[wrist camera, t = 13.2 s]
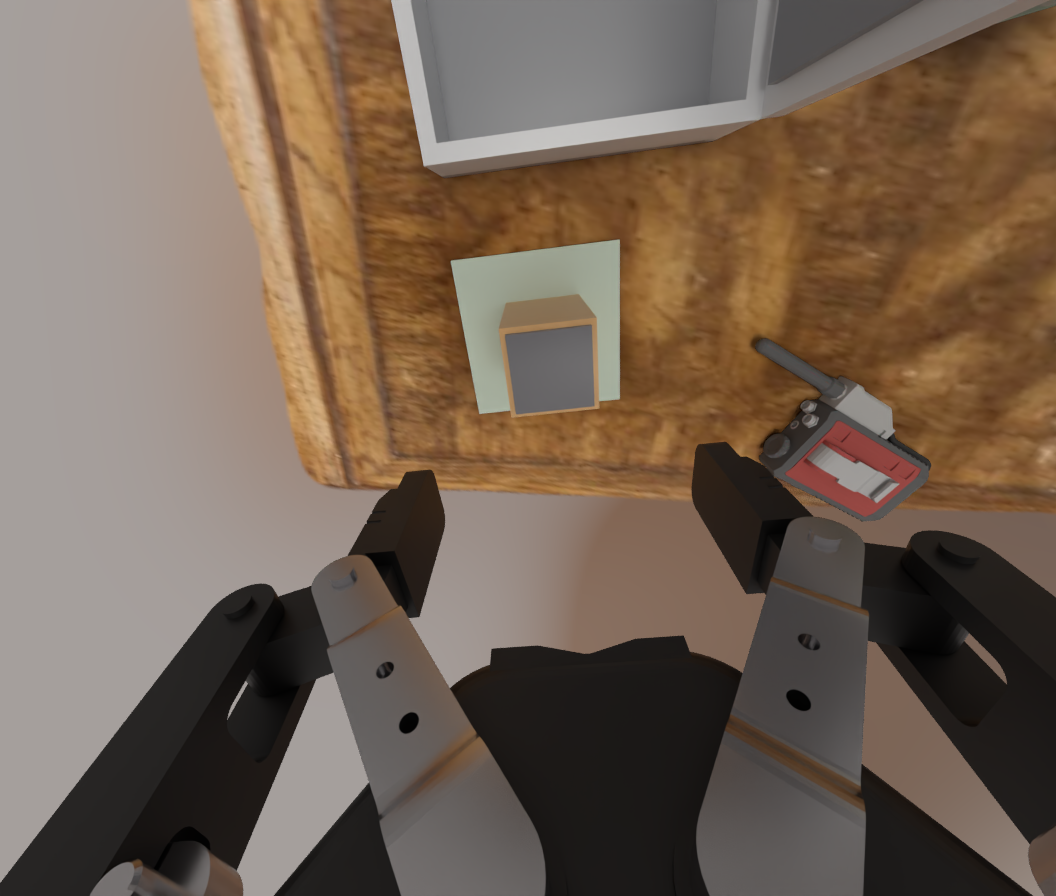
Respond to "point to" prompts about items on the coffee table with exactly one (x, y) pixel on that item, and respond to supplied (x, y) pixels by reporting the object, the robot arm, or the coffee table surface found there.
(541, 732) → the robot arm
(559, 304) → the block
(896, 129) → the coffee table surface
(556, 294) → the pad
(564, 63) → the equipment case
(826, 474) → the walkie-talkie
